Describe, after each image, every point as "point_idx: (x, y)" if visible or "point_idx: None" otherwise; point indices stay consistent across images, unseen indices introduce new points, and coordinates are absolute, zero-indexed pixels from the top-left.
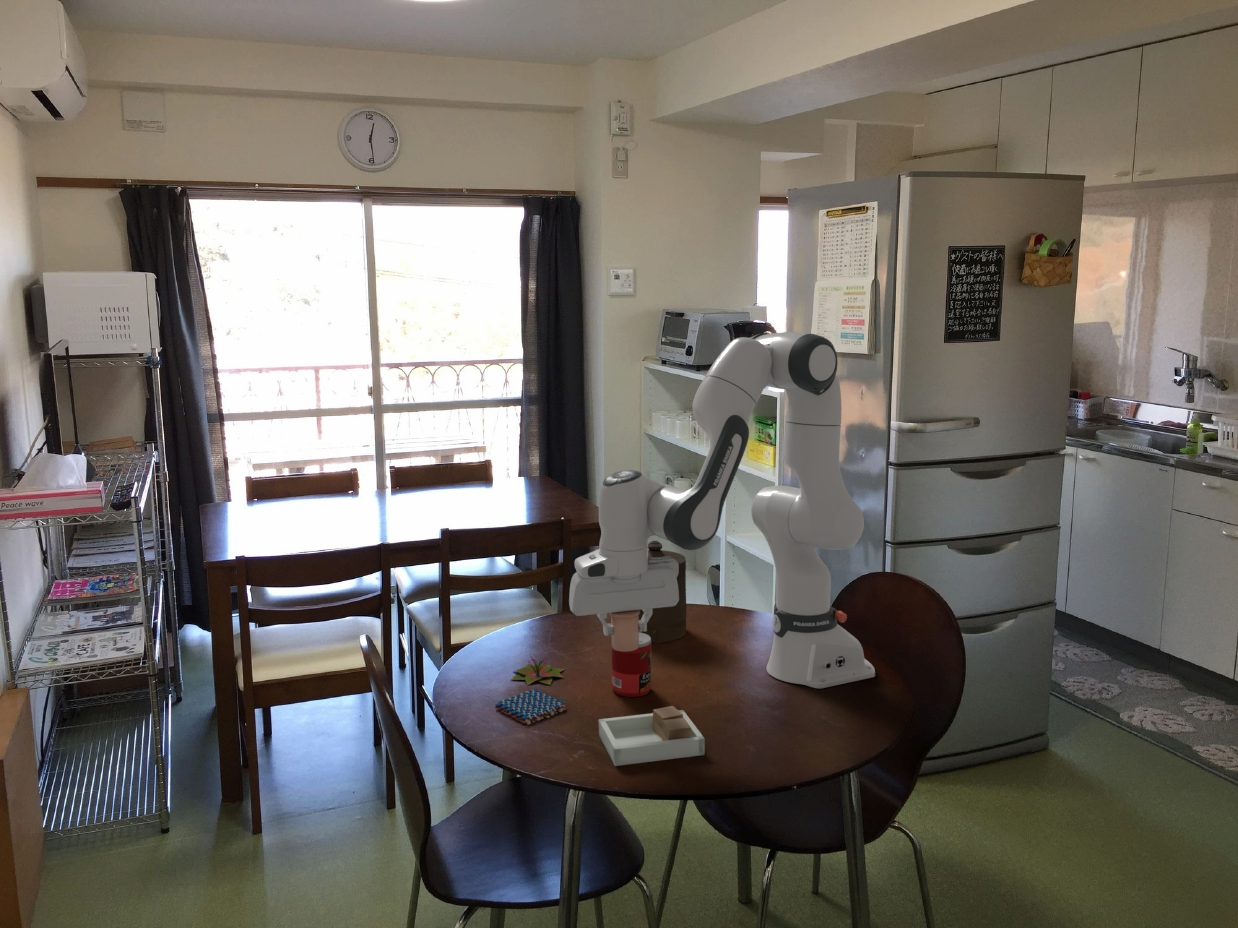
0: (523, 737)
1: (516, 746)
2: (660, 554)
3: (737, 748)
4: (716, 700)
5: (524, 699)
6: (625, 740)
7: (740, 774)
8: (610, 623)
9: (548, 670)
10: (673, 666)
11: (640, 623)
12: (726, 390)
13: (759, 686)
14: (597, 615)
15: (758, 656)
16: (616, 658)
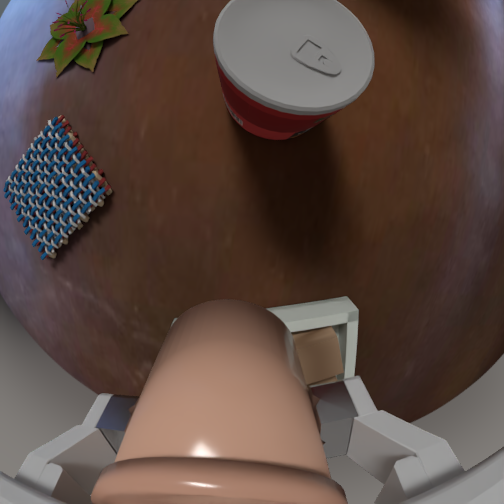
0: (55, 303)
1: (54, 329)
2: None
3: (393, 372)
4: (432, 194)
5: (35, 175)
6: None
7: None
8: (123, 432)
9: (104, 11)
10: (377, 16)
11: (327, 457)
12: None
13: (493, 156)
14: (34, 462)
15: (495, 50)
16: (228, 93)
